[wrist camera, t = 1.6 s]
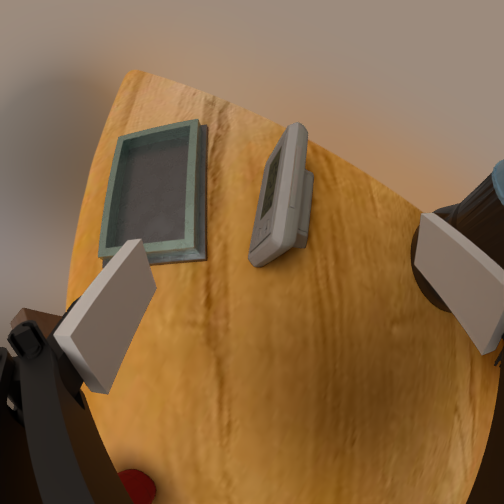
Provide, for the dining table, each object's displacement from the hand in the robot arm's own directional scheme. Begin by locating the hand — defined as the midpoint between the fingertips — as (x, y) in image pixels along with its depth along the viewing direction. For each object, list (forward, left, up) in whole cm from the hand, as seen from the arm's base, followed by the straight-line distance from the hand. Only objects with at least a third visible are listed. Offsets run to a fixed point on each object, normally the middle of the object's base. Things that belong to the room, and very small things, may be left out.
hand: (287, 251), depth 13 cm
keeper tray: (+17, -19, -24) cm, 35 cm away
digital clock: (0, -13, -24) cm, 27 cm away
